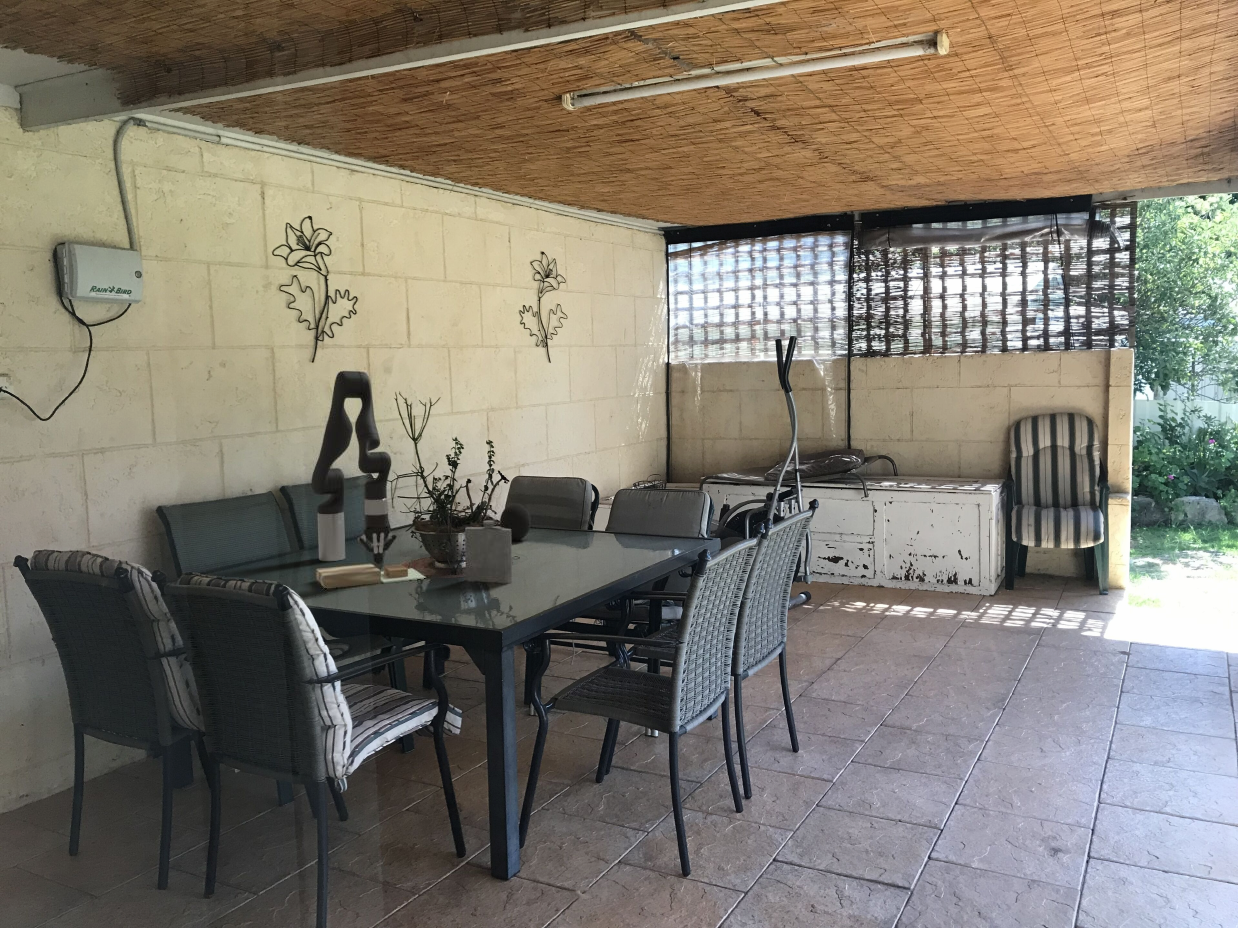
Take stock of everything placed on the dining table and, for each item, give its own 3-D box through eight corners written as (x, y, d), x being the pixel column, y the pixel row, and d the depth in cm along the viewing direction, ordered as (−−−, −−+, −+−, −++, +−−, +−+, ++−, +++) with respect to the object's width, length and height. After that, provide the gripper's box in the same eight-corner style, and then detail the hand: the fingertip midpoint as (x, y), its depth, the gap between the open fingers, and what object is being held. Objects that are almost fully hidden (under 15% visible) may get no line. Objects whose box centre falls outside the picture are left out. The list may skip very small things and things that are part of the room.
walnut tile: (401, 564, 335) (401, 571, 335) (383, 566, 332) (384, 573, 332) (407, 568, 328) (408, 576, 328) (389, 570, 325) (390, 578, 325)
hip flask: (464, 581, 323) (463, 520, 321) (469, 578, 327) (468, 519, 325) (509, 583, 319) (508, 522, 317) (514, 581, 323) (513, 520, 321)
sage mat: (371, 574, 334) (371, 572, 334) (412, 570, 341) (412, 568, 341) (383, 583, 320) (383, 581, 320) (425, 578, 327) (425, 577, 327)
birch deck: (316, 580, 325) (316, 568, 324) (371, 575, 333) (371, 563, 332) (324, 588, 313) (324, 576, 313) (381, 582, 321) (380, 570, 321)
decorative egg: (496, 539, 400) (495, 502, 398) (524, 536, 405) (524, 500, 403) (505, 544, 389) (505, 506, 387) (535, 541, 394) (534, 504, 392)
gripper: (393, 509, 331) (394, 560, 333) (353, 512, 325) (355, 563, 327) (399, 512, 325) (400, 563, 327) (358, 515, 319) (360, 567, 321)
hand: (377, 563), depth 327 cm, fingers closed
